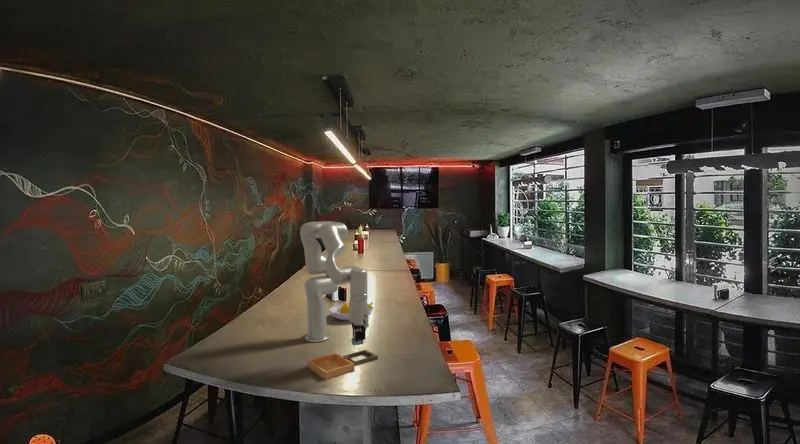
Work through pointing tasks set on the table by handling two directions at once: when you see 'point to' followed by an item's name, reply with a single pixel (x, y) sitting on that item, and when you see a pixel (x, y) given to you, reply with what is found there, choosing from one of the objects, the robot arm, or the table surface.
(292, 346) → the table surface
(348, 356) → the component holder
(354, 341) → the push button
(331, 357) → the parts tray
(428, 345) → the table surface
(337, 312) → the fruit bowl
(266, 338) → the table surface
